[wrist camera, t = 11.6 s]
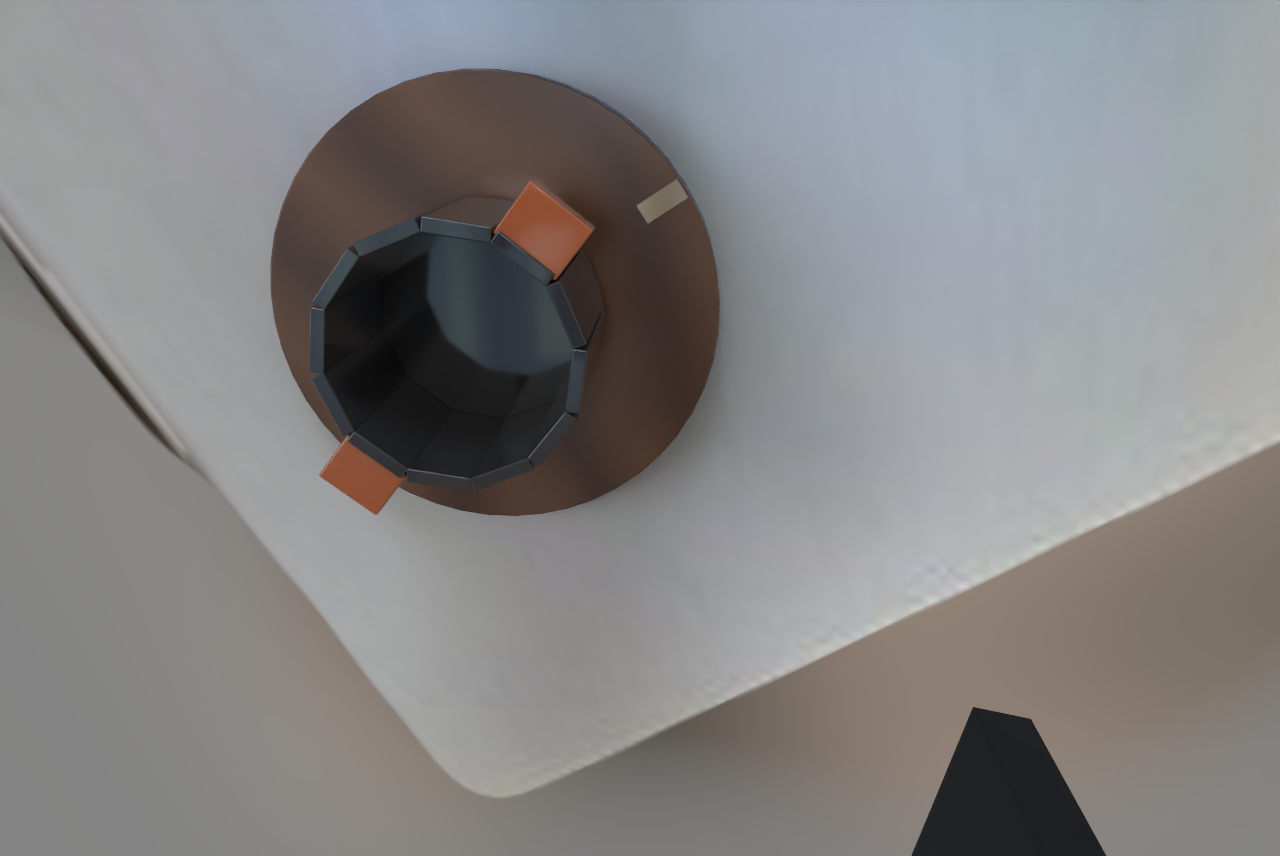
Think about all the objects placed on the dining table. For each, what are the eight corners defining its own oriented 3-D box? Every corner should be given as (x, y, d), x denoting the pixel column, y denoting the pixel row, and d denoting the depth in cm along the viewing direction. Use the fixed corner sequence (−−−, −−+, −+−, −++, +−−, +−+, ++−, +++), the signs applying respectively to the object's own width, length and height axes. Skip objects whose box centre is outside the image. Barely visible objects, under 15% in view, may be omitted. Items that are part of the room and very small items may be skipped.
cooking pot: (680, 261, 34) (677, 299, 27) (493, 491, 38) (452, 571, 31) (489, 105, 32) (438, 107, 26) (314, 363, 36) (233, 419, 30)
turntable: (458, 567, 41) (449, 585, 39) (197, 236, 36) (175, 242, 35) (799, 371, 37) (803, 382, 35) (553, -33, 32) (547, -40, 30)
